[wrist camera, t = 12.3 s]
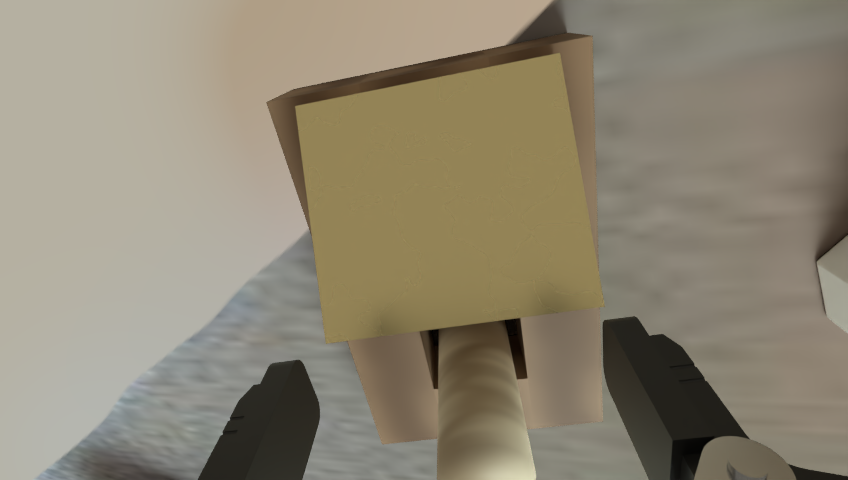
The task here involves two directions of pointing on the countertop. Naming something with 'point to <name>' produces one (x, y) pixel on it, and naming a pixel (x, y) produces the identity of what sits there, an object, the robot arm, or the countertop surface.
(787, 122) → the countertop surface
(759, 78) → the countertop surface
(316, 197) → the latch flap
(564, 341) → the block
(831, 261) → the jar
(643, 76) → the countertop surface
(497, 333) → the peg
